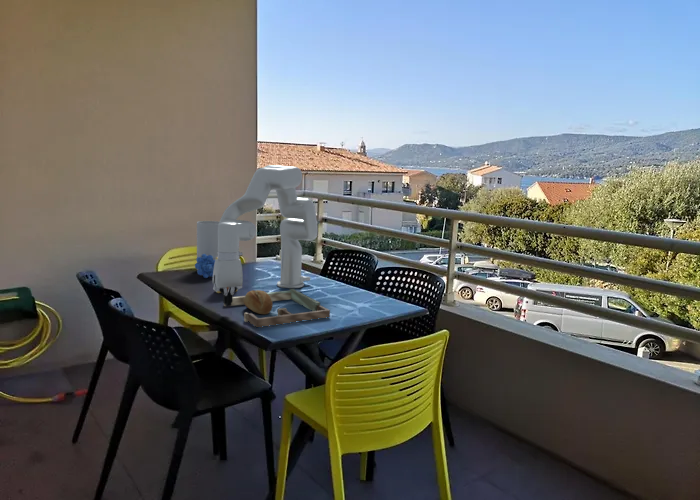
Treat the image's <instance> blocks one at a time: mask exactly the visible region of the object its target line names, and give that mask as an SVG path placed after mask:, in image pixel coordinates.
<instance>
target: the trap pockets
mask: <svg viewBox="0 0 700 500" xmlns="http://www.w3.org/2000/svg"><path fill="white" fill-rule="evenodd" d="M330 313H331V310H330V309H329V308H327V307H324V306H323V305H321V304H320V305H317V311H306V312H297V313H292V312H290V311H288V309H287V310H285V309H283V310H282V315H280V316H278V315H273V316H266V317H258V316H257V315H255V314H253V313H252V312H250V313H248V314H249V316H248V321H249V322H250V323H249V322H248V323H249V324H250V325H252V324H253V325H254V326H253V325H252V326H253V327H255V326H256V327H261V328H263V327H262V326H268V327H270V326H269V325H275V326H277V325H276V324H282V325H284V324H283V323H290V322H296V321H302V320H311V319H318V318H326V317H331V316H330V315H331V314H330ZM326 319H327V318H326ZM318 320H319V319H318ZM311 321H312V320H311ZM290 324H291V323H290ZM256 327H255V328H256Z"/></svg>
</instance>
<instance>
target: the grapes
mask: <svg viewBox="0 0 700 500" xmlns="http://www.w3.org/2000/svg"><path fill="white" fill-rule="evenodd" d="M195 260H196V263H194V267H195V269H196V272H197V275H199V276H203V278H204V279H208V278H209V277H211V278H213V270H214V264H215V260H213V256H212V255H208V256H207V255H206V254H202V256H201V257H197V256H196V259H195ZM197 262H198V263H197ZM197 269H198V270H197Z"/></svg>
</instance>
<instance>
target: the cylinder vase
mask: <svg viewBox="0 0 700 500" xmlns="http://www.w3.org/2000/svg"><path fill="white" fill-rule="evenodd" d="M219 222H220V221H215V220H203V221H202V220H200V221H196V258H197V257H201V256H202V254H206V255H207V256H208V255H212V256H213V260H216V257H218V225H219ZM196 263H198V262H197V261H196ZM196 271H198V269H196Z"/></svg>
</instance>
